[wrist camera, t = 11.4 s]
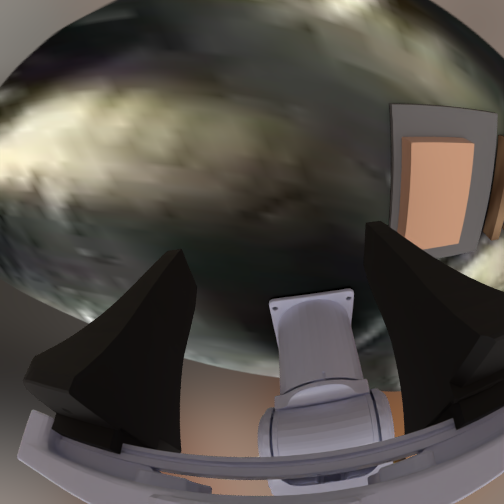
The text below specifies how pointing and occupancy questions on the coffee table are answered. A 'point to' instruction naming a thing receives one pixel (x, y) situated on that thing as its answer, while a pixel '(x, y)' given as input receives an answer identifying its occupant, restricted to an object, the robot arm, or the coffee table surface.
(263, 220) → the coffee table surface
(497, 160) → the rack
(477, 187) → the mat
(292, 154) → the coffee table surface
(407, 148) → the tile
